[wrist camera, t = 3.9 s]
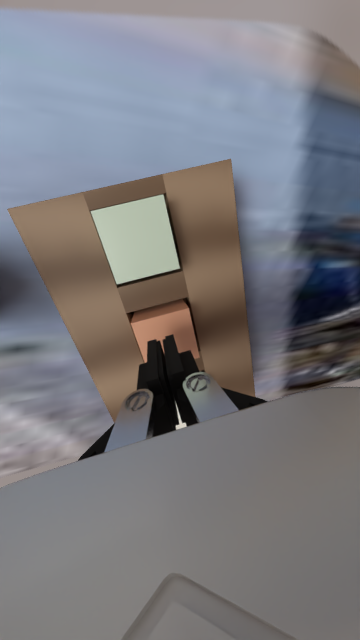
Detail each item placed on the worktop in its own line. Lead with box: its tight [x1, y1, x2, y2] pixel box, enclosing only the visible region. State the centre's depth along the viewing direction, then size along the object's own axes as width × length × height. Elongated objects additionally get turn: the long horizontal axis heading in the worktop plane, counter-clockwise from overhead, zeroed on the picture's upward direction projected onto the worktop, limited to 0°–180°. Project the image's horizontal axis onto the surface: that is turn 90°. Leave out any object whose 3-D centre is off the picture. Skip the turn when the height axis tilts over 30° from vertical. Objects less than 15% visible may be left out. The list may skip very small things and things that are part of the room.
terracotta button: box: [131, 299, 200, 363], centre depth 15 cm, size 4×4×3 cm
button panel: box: [7, 159, 255, 423], centre depth 17 cm, size 21×14×4 cm, turn 13°
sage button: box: [91, 195, 180, 284], centre depth 12 cm, size 4×4×3 cm
